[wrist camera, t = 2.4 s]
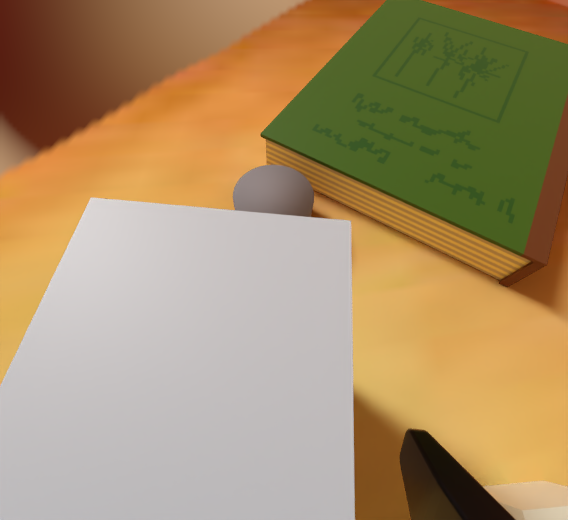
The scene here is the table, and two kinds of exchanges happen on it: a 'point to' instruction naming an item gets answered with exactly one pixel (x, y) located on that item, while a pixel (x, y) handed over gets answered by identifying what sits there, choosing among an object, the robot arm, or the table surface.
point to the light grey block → (186, 371)
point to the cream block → (532, 500)
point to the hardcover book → (439, 134)
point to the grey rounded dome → (274, 192)
